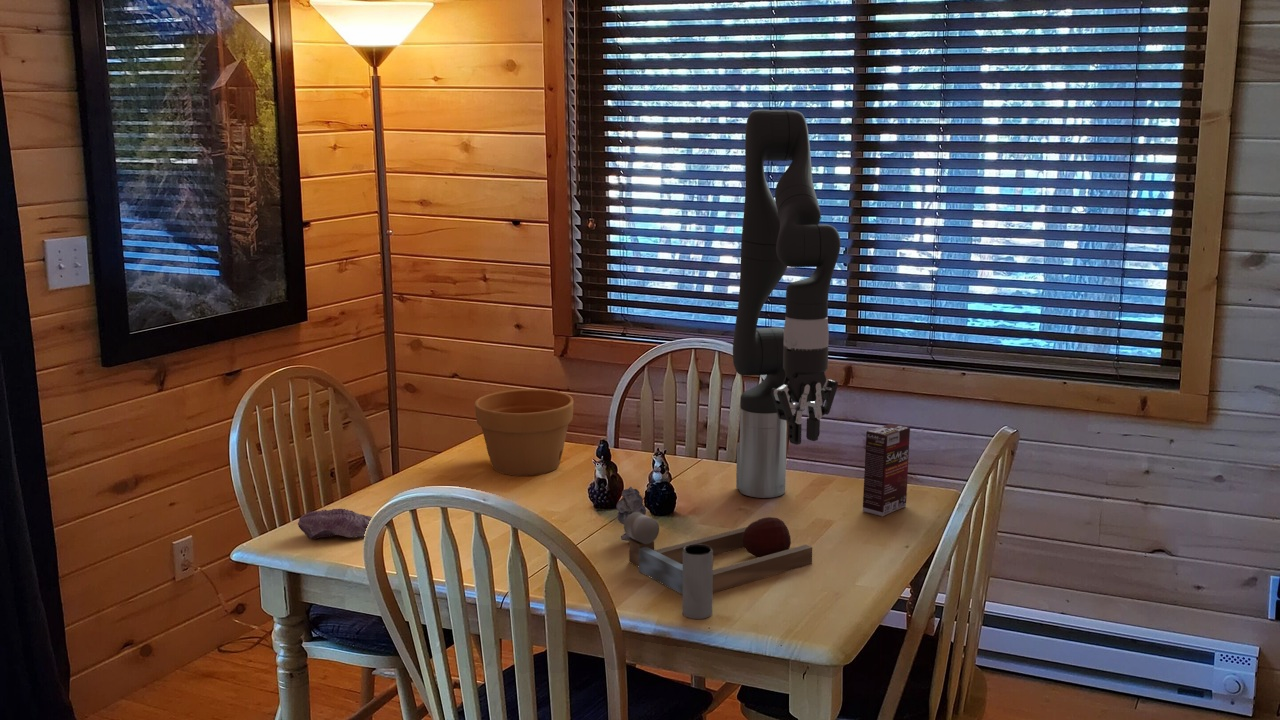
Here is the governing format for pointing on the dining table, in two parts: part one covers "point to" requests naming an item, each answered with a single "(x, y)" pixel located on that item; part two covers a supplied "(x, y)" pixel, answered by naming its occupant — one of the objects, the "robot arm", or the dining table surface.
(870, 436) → the supplement box
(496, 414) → the flower pot
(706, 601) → the grey tube
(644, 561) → the bay
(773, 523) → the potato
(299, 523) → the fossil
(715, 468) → the dining table surface
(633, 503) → the grey lumpy rock
